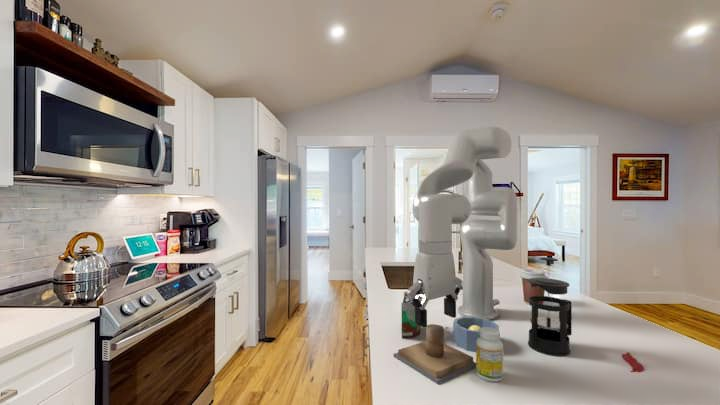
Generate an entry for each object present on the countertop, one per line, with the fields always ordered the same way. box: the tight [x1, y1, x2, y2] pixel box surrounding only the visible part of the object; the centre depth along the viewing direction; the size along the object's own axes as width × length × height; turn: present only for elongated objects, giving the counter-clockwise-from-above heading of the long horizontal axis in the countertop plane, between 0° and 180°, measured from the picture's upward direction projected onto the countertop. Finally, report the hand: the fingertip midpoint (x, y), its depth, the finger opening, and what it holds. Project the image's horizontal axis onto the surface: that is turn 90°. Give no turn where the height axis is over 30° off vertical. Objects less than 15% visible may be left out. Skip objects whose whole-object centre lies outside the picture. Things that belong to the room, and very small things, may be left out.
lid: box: [397, 323, 474, 378], centre depth 73 cm, size 12×12×7 cm
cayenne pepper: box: [621, 351, 645, 373], centre depth 73 cm, size 12×5×2 cm, turn 132°
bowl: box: [452, 316, 500, 353], centre depth 83 cm, size 11×11×5 cm
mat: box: [393, 352, 476, 385], centre depth 73 cm, size 13×14×1 cm
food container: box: [401, 291, 423, 340], centre depth 90 cm, size 12×6×10 cm, turn 168°
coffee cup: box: [519, 268, 548, 306], centre depth 118 cm, size 9×9×12 cm
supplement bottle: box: [475, 327, 504, 383], centre depth 67 cm, size 5×5×10 cm
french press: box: [527, 256, 573, 357], centre depth 81 cm, size 12×9×23 cm
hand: (435, 320), depth 74 cm, fingers open, 9 cm apart
